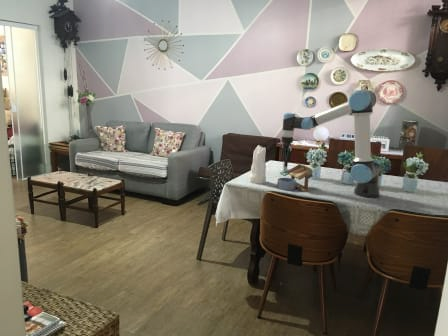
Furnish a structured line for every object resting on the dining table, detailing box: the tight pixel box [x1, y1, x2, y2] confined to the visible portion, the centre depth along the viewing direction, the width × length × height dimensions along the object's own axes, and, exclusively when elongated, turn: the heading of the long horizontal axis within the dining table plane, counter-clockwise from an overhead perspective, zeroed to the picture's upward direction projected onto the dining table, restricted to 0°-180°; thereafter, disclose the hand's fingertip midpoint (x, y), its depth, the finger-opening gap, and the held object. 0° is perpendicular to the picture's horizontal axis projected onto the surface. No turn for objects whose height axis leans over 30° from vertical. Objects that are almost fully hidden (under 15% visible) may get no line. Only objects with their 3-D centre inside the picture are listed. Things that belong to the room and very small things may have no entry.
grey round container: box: [276, 177, 298, 191], centre depth 236 cm, size 11×11×6 cm
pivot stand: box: [290, 175, 312, 193], centre depth 238 cm, size 20×6×10 cm, turn 17°
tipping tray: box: [279, 163, 314, 181], centre depth 240 cm, size 23×13×6 cm, turn 17°
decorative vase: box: [249, 144, 267, 185], centre depth 247 cm, size 11×11×25 cm
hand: (284, 170), depth 247 cm, fingers closed
